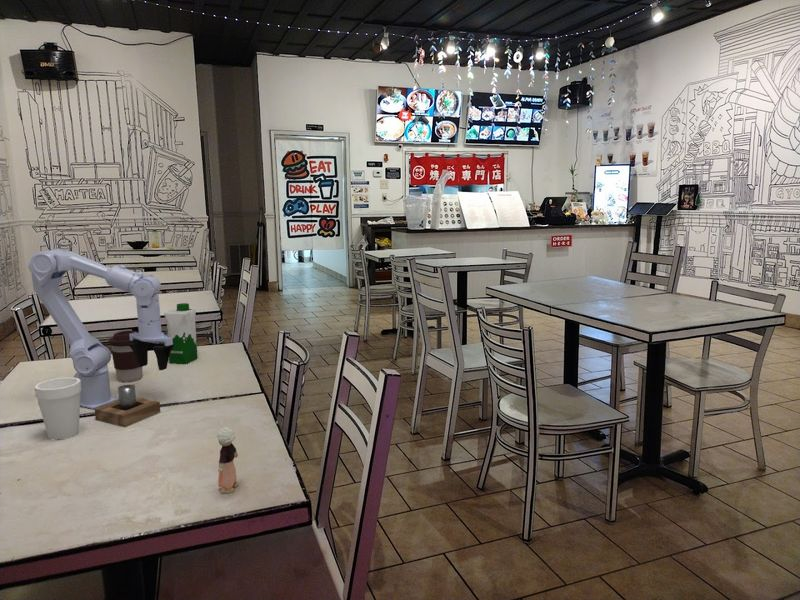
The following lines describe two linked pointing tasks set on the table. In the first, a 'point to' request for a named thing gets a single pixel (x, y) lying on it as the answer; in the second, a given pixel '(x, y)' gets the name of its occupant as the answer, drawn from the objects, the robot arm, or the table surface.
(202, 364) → the table surface
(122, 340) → the coffee cup
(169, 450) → the table surface
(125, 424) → the square wooden ring
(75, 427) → the foam cup
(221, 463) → the grandmother figurine
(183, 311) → the milk carton
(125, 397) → the round peg
